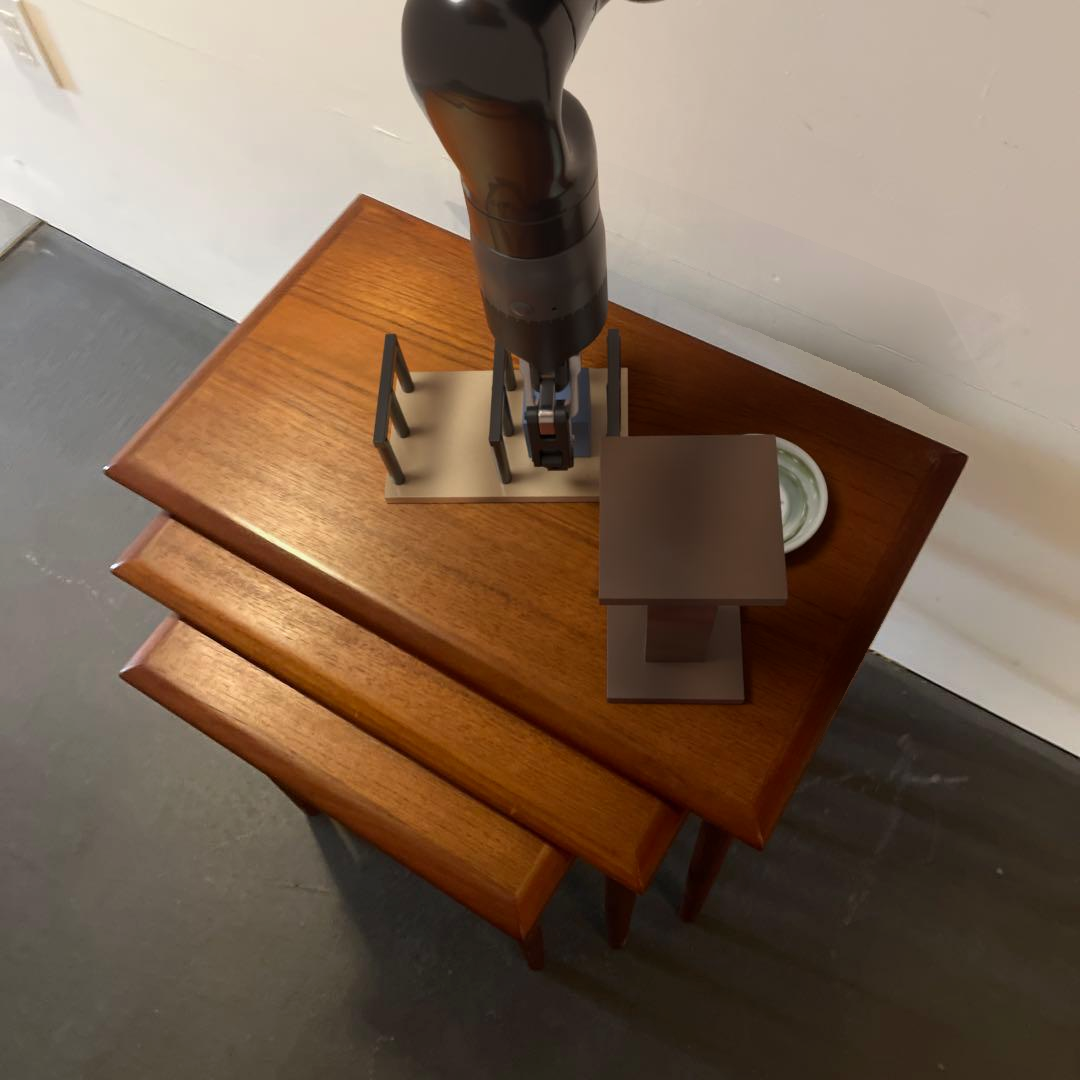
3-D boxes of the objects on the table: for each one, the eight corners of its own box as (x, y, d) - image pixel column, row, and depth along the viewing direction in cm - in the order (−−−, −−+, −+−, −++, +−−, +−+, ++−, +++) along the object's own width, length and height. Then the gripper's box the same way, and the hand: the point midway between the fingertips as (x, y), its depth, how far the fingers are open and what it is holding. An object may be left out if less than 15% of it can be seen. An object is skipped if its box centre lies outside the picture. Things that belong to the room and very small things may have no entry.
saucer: (793, 433, 72) (798, 416, 70) (843, 548, 68) (850, 533, 66) (668, 468, 72) (669, 452, 70) (711, 585, 68) (714, 572, 66)
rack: (627, 374, 76) (627, 316, 69) (628, 501, 71) (628, 452, 64) (400, 378, 77) (378, 322, 70) (386, 503, 73) (362, 455, 66)
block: (591, 404, 74) (588, 366, 69) (590, 457, 72) (588, 422, 67) (530, 405, 74) (524, 367, 69) (528, 458, 72) (522, 423, 68)
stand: (736, 578, 68) (775, 434, 50) (742, 704, 64) (788, 598, 46) (607, 578, 69) (600, 436, 51) (606, 702, 65) (598, 598, 47)
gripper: (605, 366, 53) (612, 500, 67) (607, 166, 58) (612, 330, 73) (468, 369, 53) (504, 501, 68) (483, 172, 59) (513, 332, 74)
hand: (560, 412), depth 70 cm, fingers open, 8 cm apart
